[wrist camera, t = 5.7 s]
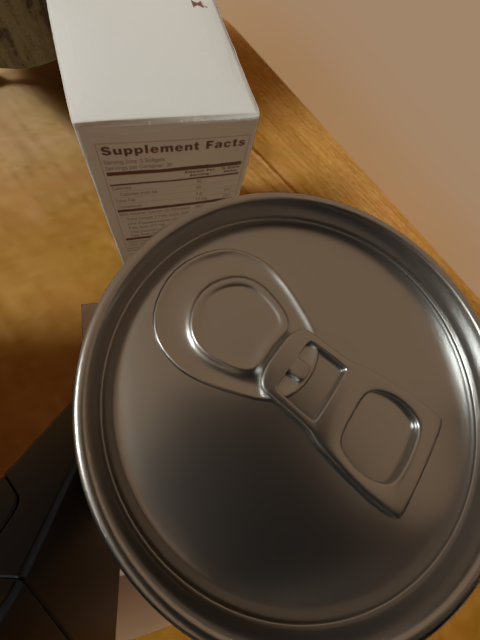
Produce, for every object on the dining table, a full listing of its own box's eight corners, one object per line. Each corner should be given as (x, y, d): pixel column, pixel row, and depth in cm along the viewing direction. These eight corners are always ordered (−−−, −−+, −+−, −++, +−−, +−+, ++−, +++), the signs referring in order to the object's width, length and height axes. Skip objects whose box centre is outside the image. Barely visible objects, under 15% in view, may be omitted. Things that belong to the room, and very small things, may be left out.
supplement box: (108, 196, 24) (39, -22, 12) (200, 186, 26) (218, -11, 14) (125, 281, 22) (64, 121, 10) (224, 264, 24) (267, 111, 12)
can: (206, 323, 16) (263, 103, 5) (303, 401, 16) (591, 347, 5) (115, 425, 14) (-140, 427, 3) (225, 520, 14) (435, 959, 2)
